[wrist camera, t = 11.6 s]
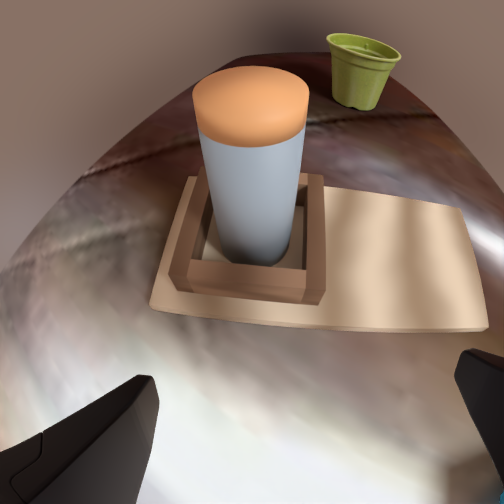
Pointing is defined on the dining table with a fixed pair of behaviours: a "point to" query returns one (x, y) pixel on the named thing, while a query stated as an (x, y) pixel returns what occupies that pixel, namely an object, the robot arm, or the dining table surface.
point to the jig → (329, 266)
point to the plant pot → (359, 69)
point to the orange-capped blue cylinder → (252, 157)
